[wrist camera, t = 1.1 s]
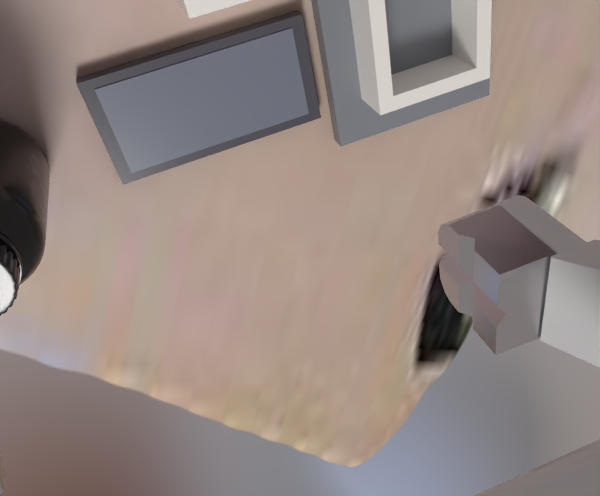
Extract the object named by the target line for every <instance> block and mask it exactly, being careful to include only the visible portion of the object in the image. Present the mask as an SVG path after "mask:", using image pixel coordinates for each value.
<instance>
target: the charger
mask: <svg viewBox="0 0 600 496" xmlns="http://www.w3.org/2000/svg"><path fill="white" fill-rule="evenodd" d="M246 1H250V0H177V2H178V3H179V5H180V6H181V8H182V9H183V10H184V12H185V13H186V15H187V16H188V17H189V19H190V18H193V17H197V16H200V15H203V14H207V13H210V12H213V11H217V10H220V9H223V8H227V7H230V6H233V5H236V4H240V3H243V2H246Z"/></svg>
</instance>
